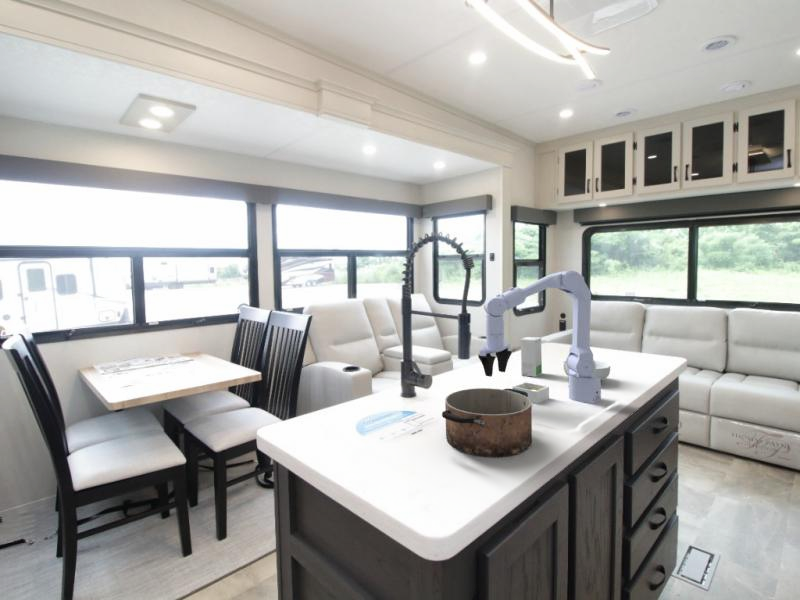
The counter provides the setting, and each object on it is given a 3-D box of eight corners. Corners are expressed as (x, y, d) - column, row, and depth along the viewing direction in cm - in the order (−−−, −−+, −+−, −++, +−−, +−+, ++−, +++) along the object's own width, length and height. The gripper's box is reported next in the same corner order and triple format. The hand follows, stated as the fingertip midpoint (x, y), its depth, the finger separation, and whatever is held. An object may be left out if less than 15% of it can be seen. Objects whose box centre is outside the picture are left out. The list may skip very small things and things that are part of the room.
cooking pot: (487, 415, 128) (487, 381, 127) (555, 435, 111) (555, 396, 110) (418, 444, 108) (417, 404, 107) (488, 473, 91) (488, 426, 90)
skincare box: (535, 377, 168) (535, 340, 167) (520, 375, 172) (519, 338, 171) (542, 373, 175) (542, 337, 174) (527, 371, 179) (526, 336, 178)
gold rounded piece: (543, 398, 139) (542, 389, 139) (538, 400, 137) (538, 391, 137) (534, 396, 142) (534, 387, 141) (530, 398, 140) (530, 389, 139)
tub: (549, 399, 139) (549, 386, 139) (536, 405, 134) (536, 391, 133) (525, 394, 146) (525, 381, 145) (512, 399, 140) (512, 386, 140)
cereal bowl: (618, 386, 153) (618, 368, 152) (573, 387, 153) (573, 369, 153) (597, 375, 170) (597, 358, 169) (557, 376, 170) (557, 359, 170)
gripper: (497, 330, 145) (498, 368, 146) (471, 335, 135) (472, 375, 136) (515, 331, 140) (515, 371, 141) (489, 337, 130) (490, 379, 131)
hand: (495, 373), depth 138 cm, fingers open, 7 cm apart
